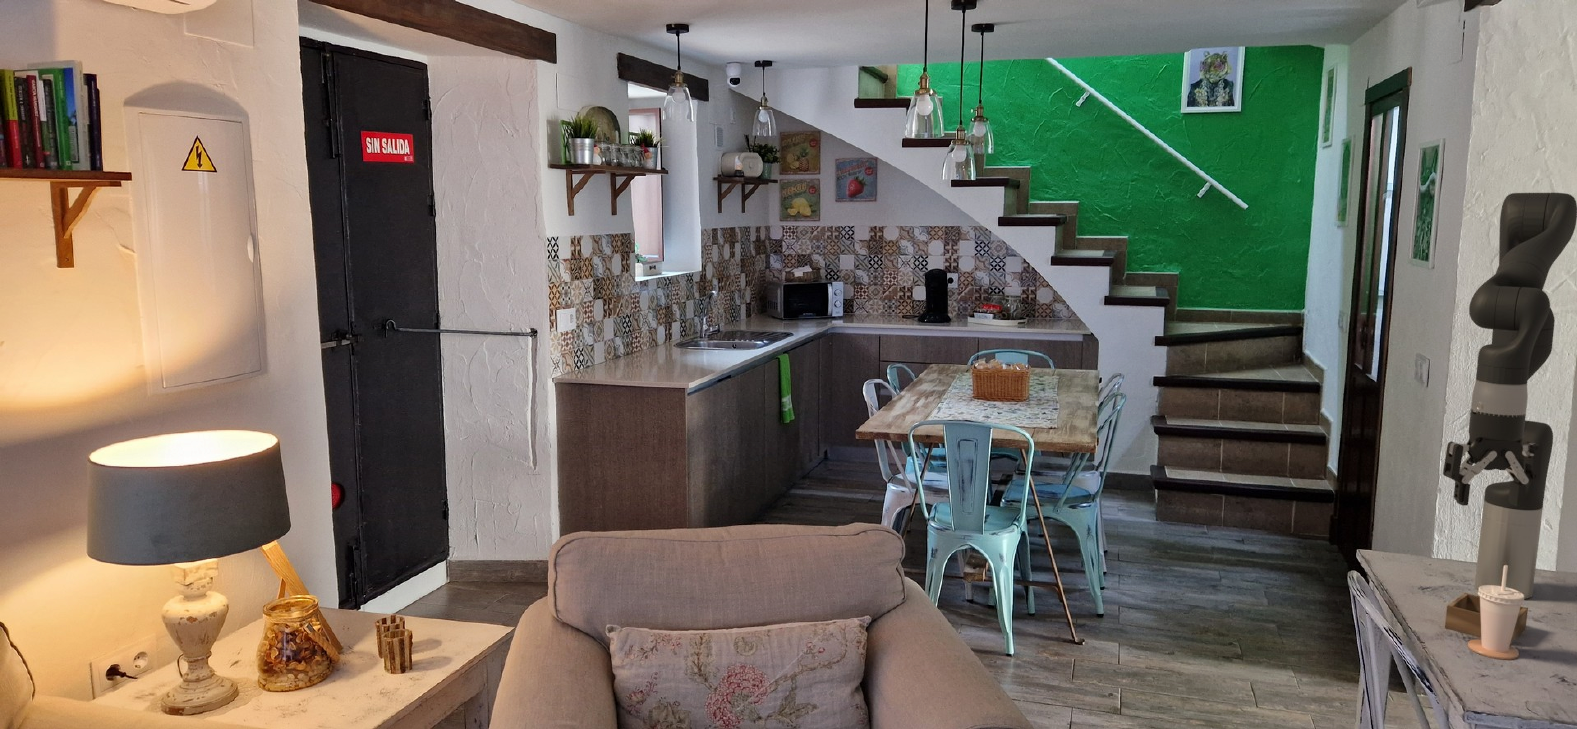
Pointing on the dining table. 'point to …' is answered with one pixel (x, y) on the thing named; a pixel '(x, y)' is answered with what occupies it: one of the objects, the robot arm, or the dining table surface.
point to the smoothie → (1498, 614)
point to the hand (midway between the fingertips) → (1488, 504)
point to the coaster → (1477, 648)
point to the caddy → (1475, 616)
